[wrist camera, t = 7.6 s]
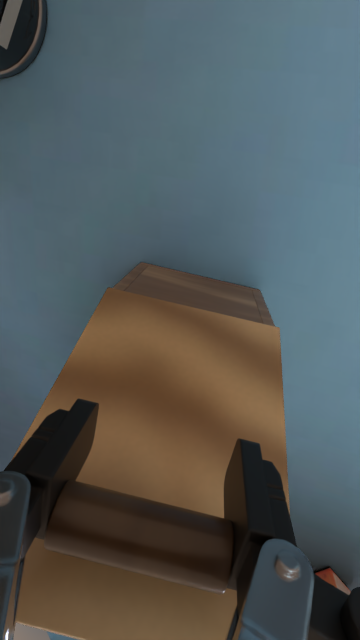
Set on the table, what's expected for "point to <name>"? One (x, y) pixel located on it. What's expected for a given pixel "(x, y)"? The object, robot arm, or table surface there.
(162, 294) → the gift box
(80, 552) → the gift box lid
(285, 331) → the table surface
